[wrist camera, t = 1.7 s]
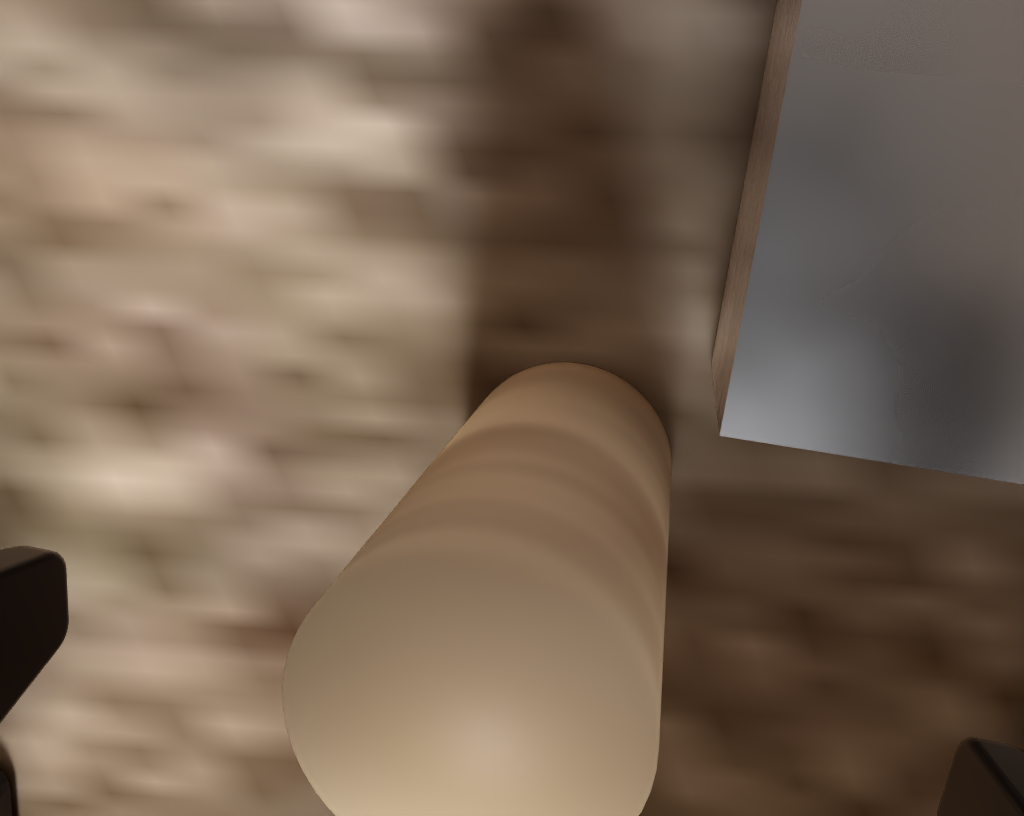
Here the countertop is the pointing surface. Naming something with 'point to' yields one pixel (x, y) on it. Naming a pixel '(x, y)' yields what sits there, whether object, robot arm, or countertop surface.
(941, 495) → the countertop surface
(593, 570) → the dowel
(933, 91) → the block
